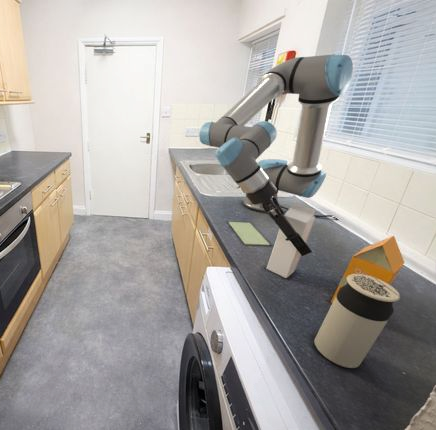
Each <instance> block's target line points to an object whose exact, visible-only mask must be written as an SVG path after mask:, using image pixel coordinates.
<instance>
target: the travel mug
mask: <svg viewBox="0 0 436 430" xmlns="http://www.w3.org/2000/svg"><path fill="white" fill-rule="evenodd" d="M400 299H401V295H400V292H399V291H398V290H397V289H396V288H394V287H393V286H392V285H391V286H390V285H389V284H387V283H385V282H383V281H381V280H379V279H377V278H374V277H371V276H367V275H362V274H351V275H349V276H348V277H347V284H346V285H344V286H342V287H341V288H340V289H339V291H338V293H337V295H336V297H335V299H334V301H333V303H331V305H330V307H329V310H328V311H327V313H326V315H325V317H324V320H323V321H322V323H321V325H320V328H319V330H318V331H317V334H316V335H315V338H314V341H313V343H314V345H315V347H316V349H317V350H318V352H319V353H320V354H321V355H323V357H324V358H326V359H327V360H329V361H331V362H332V363H334V364H336V365H338V366H340V367H343V368H347V369H356V368H358V367H360V365H362V363H363V361H364V360H365V358H366V356H367V355H368V353H369V352H370V350H371V349H372V347H373V346H374V343H375V342H376V341H377V339H378V338H379V336H380V334H381V333H382V331H383V330H384V328H385V326H386V325H387V324H388V322H389V320H390V319H391V317H392V316H393V314H394V312H395V311H394V305H393V304H394V302H398V301H399V300H400Z"/></svg>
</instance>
